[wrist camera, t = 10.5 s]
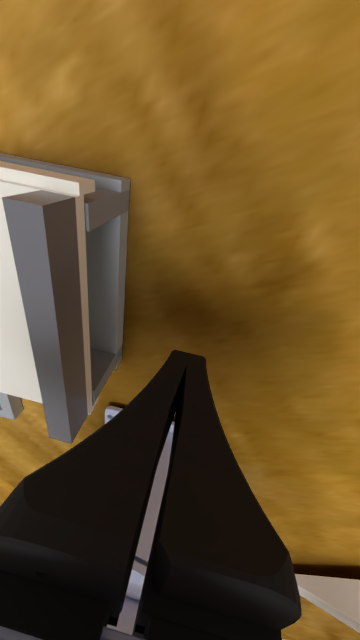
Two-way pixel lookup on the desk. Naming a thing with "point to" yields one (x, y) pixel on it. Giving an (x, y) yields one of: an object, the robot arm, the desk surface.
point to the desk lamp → (333, 596)
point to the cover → (45, 295)
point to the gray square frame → (96, 271)
